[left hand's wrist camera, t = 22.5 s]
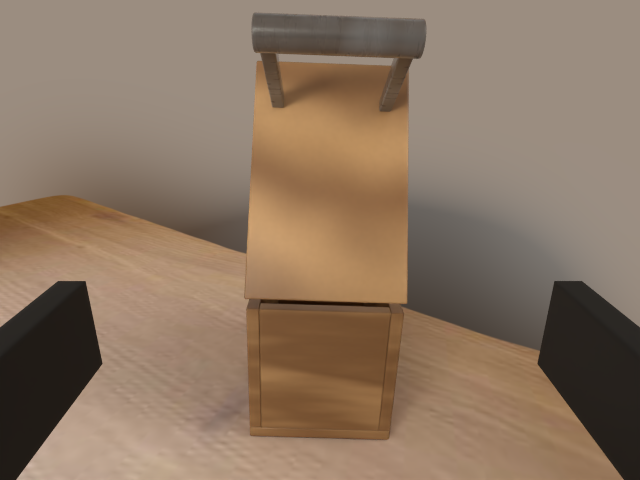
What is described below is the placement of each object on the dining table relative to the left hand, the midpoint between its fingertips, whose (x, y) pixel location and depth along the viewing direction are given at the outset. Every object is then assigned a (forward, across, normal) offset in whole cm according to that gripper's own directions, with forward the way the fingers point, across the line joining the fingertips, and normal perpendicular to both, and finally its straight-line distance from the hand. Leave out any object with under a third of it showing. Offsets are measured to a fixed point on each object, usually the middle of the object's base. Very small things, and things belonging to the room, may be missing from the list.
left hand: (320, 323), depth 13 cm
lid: (+15, +1, +1) cm, 15 cm away
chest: (+18, 0, -15) cm, 24 cm away
